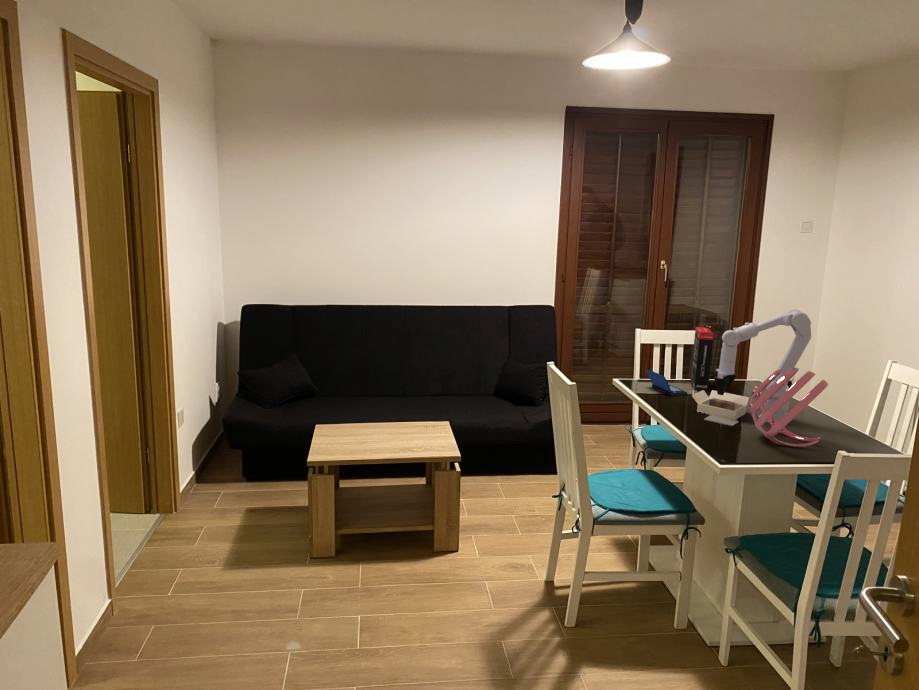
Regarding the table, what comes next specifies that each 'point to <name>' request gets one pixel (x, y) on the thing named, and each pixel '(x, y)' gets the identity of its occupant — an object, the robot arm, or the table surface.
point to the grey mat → (721, 420)
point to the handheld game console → (663, 384)
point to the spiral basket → (768, 414)
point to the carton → (704, 407)
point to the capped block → (722, 404)
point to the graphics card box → (701, 358)
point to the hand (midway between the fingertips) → (723, 393)
